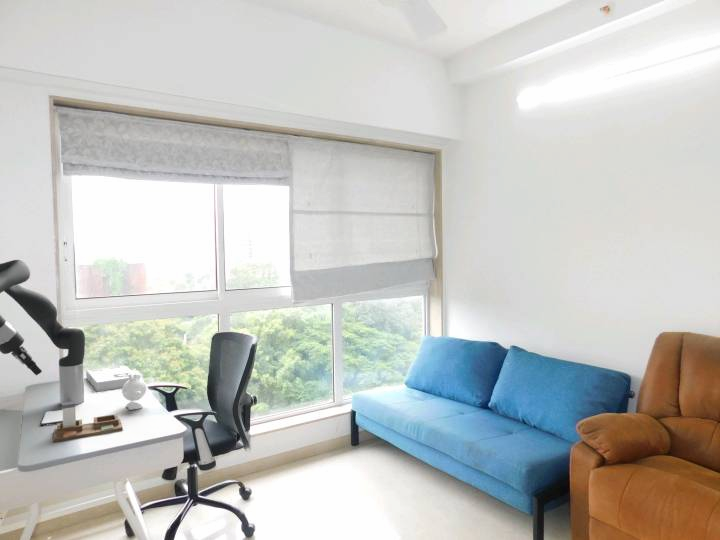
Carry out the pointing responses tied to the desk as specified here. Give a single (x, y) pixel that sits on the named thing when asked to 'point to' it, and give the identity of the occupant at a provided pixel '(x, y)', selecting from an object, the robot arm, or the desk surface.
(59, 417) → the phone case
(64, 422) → the grey-capped white pillar
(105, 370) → the power supply unit
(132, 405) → the toy robot
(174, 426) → the desk surface
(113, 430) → the panel
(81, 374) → the robot arm
